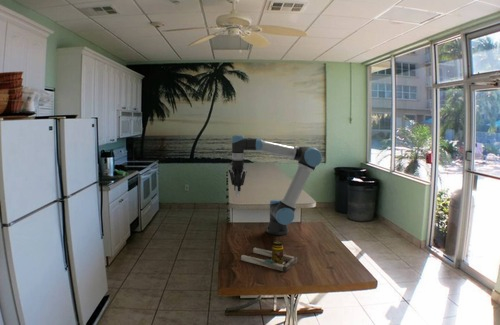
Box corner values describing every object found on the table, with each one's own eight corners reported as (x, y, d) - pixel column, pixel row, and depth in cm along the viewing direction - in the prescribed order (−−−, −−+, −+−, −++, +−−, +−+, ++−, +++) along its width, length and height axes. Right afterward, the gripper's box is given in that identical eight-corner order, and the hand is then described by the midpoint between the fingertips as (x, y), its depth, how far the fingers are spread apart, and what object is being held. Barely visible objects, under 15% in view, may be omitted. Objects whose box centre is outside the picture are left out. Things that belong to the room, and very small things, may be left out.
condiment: (280, 267, 168) (281, 245, 167) (266, 263, 173) (266, 242, 171) (285, 262, 175) (286, 241, 174) (271, 259, 179) (272, 238, 178)
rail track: (254, 251, 189) (255, 246, 189) (297, 261, 176) (297, 256, 175) (241, 260, 176) (241, 254, 176) (285, 272, 163) (285, 265, 162)
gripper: (226, 159, 203) (225, 195, 205) (243, 160, 196) (242, 198, 199) (232, 158, 209) (232, 193, 212) (249, 159, 203) (249, 196, 205)
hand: (237, 196), depth 205 cm, fingers closed
